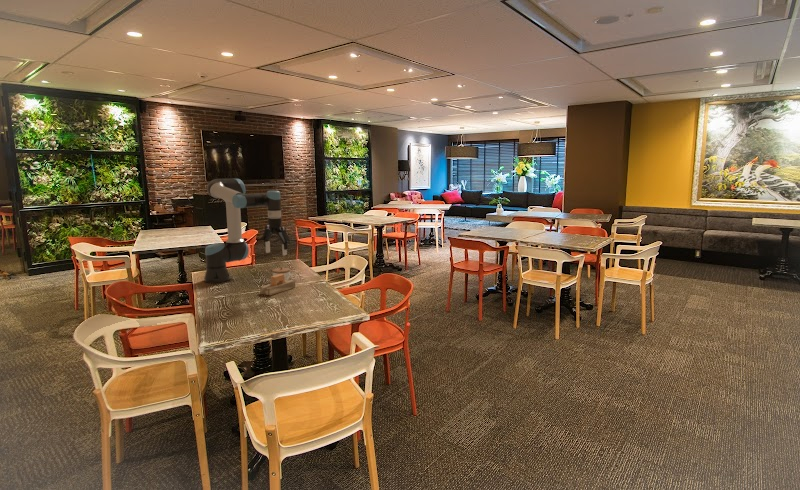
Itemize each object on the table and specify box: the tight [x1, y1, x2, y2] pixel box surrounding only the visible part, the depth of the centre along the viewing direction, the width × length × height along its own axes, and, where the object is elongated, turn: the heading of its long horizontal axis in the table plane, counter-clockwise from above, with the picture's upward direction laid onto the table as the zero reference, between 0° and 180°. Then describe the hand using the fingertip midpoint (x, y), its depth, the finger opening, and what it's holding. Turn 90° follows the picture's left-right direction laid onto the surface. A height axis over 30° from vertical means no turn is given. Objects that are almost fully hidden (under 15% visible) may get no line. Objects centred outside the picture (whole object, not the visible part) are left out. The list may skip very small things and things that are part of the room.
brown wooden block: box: [259, 279, 296, 296], centre depth 251 cm, size 8×20×4 cm, turn 150°
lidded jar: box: [272, 266, 291, 280], centre depth 270 cm, size 11×11×9 cm
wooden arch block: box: [270, 274, 285, 286], centre depth 250 cm, size 3×8×9 cm, turn 150°
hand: (276, 253), depth 249 cm, fingers open, 13 cm apart
